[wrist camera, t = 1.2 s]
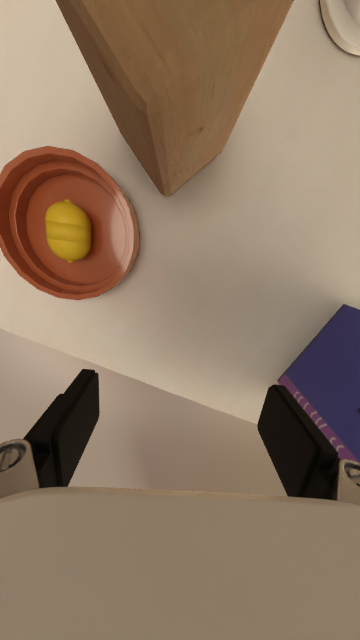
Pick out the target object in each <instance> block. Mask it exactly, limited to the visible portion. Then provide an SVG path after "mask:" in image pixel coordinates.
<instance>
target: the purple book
mask: <svg viewBox="0 0 360 640" xmlns="http://www.w3.org/2000/svg"><path fill="white" fill-rule="evenodd" d="M277 381H278V382H279V383H280V385H284V386H285V387H286V388H287V389H288V390H289V392H290V393H291V394H292V395H293V397H294V398H295V399H296V400H297V402H298V403H299V404H300V405H301V407H302V408H303V409H304V410H305V412H306V413H307V414H308V415H309V417H310V418H311V419H312V420H313V422H314V423H315V424H316V425H317V427H318V428H319V429H320V430H321V432H322V433H323V434H324V435H325V437H326V438H327V439H328V440H329V442H330V443H331V444H332V445H333V447H334V448H335V449H336V450H337V452H338V453H339V454H338V457H339V458H340V459H341V460H343V459H350V460H353V461H356V462H358V463H360V310H359V309H356V308H353V307H350V306H348V305H345V304H344V305H343V306H342V307H341V308H340V309H339V310H338V311H337V313H336V314H335V315H334V316H333V317H332V318H331V320H330V321H329V322H328V323H327V324H326V325H325V326H324V328H323V329H322V330H321V331H320V332H319V333H318V334H317V336H316V337H315V338H314V339H313V340H312V341H311V343H310V344H309V345H308V346H307V347H306V348H305V349H304V351H303V352H302V353H301V354H300V355H299V356H298V357H297V359H296V360H295V361H294V362H293V363H292V364H291V365H290V367H289V368H288V369H287V370H286V371H285V372H284V374H283V375H282V376H281V377H280V378H279V379H278V380H277Z"/></svg>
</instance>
